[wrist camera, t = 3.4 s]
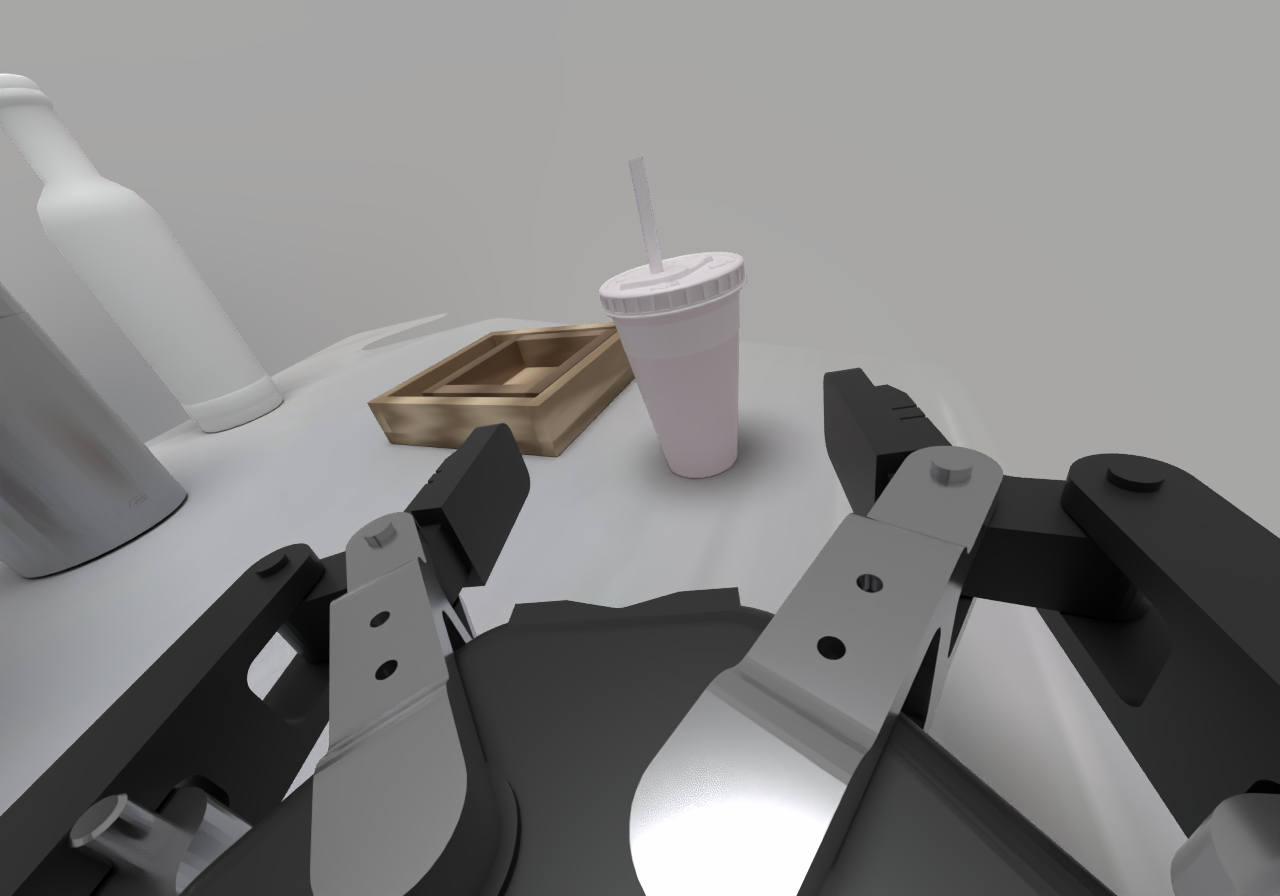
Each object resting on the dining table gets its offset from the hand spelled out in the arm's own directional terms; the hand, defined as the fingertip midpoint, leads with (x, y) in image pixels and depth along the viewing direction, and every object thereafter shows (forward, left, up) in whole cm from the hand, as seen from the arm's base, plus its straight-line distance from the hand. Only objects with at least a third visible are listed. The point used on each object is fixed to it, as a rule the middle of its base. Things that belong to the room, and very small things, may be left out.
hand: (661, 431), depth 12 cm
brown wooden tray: (-21, +16, -8) cm, 27 cm away
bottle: (-58, +12, -8) cm, 60 cm away
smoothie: (-4, +10, -8) cm, 14 cm away
